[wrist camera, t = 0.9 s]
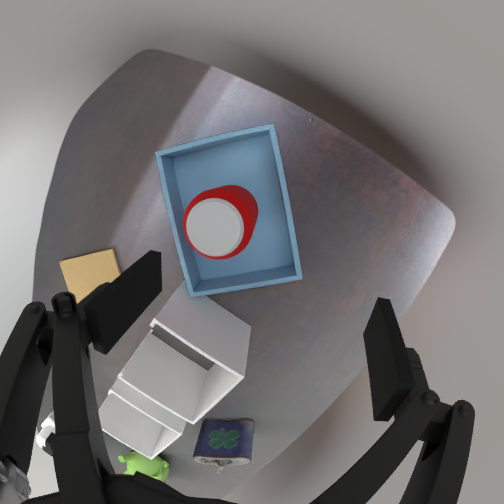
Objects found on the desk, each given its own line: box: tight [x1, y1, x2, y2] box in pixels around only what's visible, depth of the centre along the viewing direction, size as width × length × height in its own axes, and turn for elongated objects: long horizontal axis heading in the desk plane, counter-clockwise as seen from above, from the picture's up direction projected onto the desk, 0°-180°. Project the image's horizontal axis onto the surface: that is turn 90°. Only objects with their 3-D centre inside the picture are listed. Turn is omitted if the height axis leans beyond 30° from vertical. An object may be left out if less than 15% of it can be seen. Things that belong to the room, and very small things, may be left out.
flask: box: [193, 418, 254, 473], centre depth 39 cm, size 9×3×11 cm, turn 97°
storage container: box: [98, 280, 251, 460], centre depth 36 cm, size 25×11×11 cm, turn 144°
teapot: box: [118, 451, 169, 483], centre depth 46 cm, size 11×12×8 cm
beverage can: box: [183, 185, 258, 260], centre depth 29 cm, size 6×6×12 cm
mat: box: [60, 248, 137, 320], centre depth 39 cm, size 11×11×1 cm
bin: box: [155, 124, 303, 297], centre depth 33 cm, size 17×13×4 cm
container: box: [36, 409, 55, 456], centre depth 42 cm, size 8×8×13 cm
